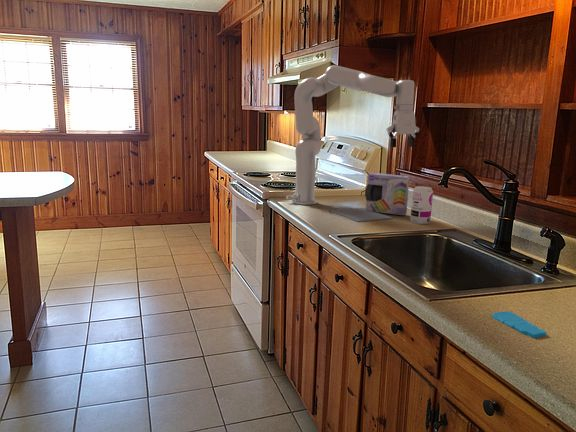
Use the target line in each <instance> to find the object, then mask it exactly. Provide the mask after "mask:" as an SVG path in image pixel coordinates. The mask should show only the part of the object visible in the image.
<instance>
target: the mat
mask: <svg viewBox="0 0 576 432" xmlns="http://www.w3.org/2000/svg"><path fill="white" fill-rule="evenodd" d="M330 212H331V213H334V214H336V215H339V216H341V217H344V218H346V219H348V218H349V219H348V220H351V221H354V222H356V221H357V222H356V223H361V221H364V222H371V221H372V222H373V221H383V220H386V221H387V220H393V219H394V217H392V216H389V215H386V214H384V213H381V212H374V211H367V210H366V207H359V208H346V209H345V208H343V209H330Z"/></svg>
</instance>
